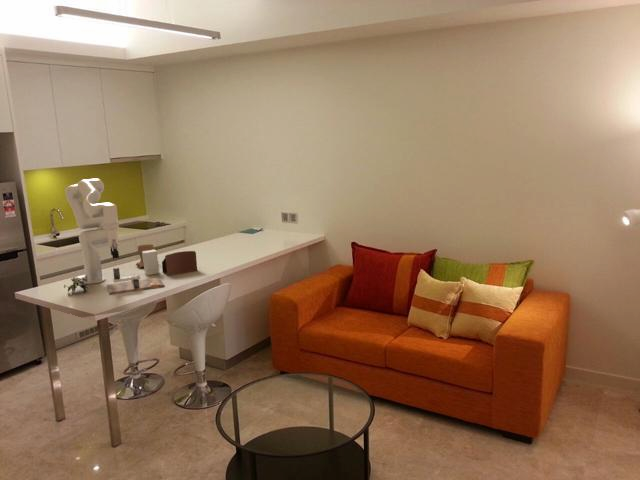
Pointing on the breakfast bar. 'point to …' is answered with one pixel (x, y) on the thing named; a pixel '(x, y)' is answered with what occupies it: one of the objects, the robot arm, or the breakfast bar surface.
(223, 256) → the breakfast bar surface
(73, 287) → the passion flower
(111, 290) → the jamb plate
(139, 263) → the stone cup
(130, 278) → the crank handle
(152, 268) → the skincare box
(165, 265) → the letter holder
